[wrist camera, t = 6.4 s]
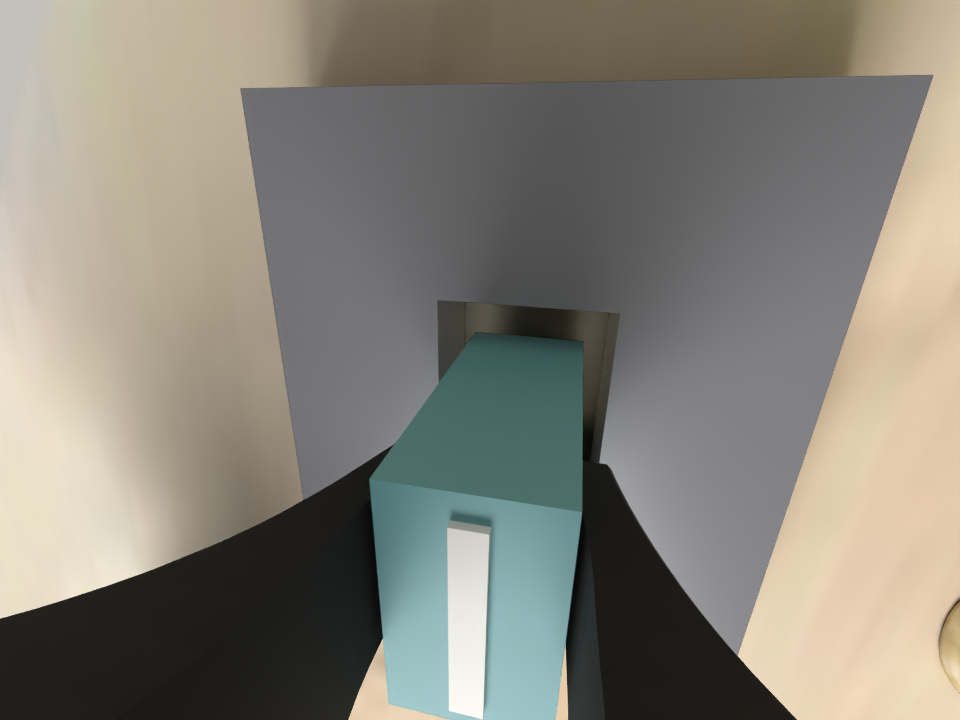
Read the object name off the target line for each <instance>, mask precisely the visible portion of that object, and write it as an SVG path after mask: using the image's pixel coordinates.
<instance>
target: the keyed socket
mask: <svg viewBox="0 0 960 720" xmlns="http://www.w3.org/2000/svg"><path fill="white" fill-rule="evenodd" d="M932 78H933V75H902V76H851V77H800V78H749V79H698V80H647V81H596V82H545V83H494V84H443V85H392V86H341V87H290V88H240V89H241V95H242V102H243V108H244V115H245V121H246V128H247V134H248V141H249V147H250V154H251V160H252V167H253V173H254V180H255V186H256V193H257V199H258V206H259V212H260V219H261V225H262V232H263V238H264V245H265V251H266V258H267V264H268V271H269V277H270V284H271V290H272V297H273V303H274V310H275V316H276V323H277V329H278V336H279V342H280V349H281V355H282V362H283V368H284V375H285V381H286V388H287V394H288V401H289V407H290V414H291V420H292V427H293V433H294V440H295V446H296V453H297V459H298V466H299V472H300V479H301V485H302V492H303V498H304V500H305V499H306V498H308V497H310V496H312V495H313V494H315V493H317V492H319V491H320V490H322V489H324V488H326V487H327V486H329V485H331V484H332V483H334V482H336V481H337V480H339V479H340V478H342V477H344V476H345V475H347V474H348V473H350V472H351V471H353V470H355V469H356V468H358V467H359V466H361V465H362V464H364V463H366V462H367V461H369V460H370V459H372V458H373V457H375V456H376V455H378V454H379V453H381V452H382V451H384V450H386V449H387V448H389V447H390V446H392V445H393V444H395V443H396V441H397V440H398V439H399V437H400V436H401V435H402V433H403V432H404V430H405V429H406V428H407V426H408V425H409V424H410V422H411V421H412V419H413V418H414V417H415V415H416V414H417V412H418V411H419V410H420V408H421V407H422V406H423V404H424V403H425V401H426V400H427V399H428V397H429V396H430V394H431V393H432V392H433V390H434V389H435V388H436V386H437V385H438V383H439V382H440V381H441V379H442V378H443V377H444V375H445V374H446V372H447V371H448V370H449V368H450V367H451V365H452V364H453V363H454V361H455V360H456V359H457V357H458V356H459V354H460V353H461V352H462V350H463V349H464V348H465V302H472V303H486V304H499V305H513V306H526V307H540V308H554V309H567V310H581V311H595V312H608V313H609V319H608V326H607V334H606V342H605V349H604V357H603V365H602V372H601V380H600V388H599V395H598V403H597V411H596V418H595V426H594V434H593V442H592V449H591V457H590V462H594V463H601V464H607V465H608V466H609V467H610V469H611V470H612V472H613V474H614V476H615V479H616V481H617V483H618V485H619V487H620V489H621V491H622V493H623V495H624V497H625V498H626V500H627V502H628V504H629V506H630V508H631V509H632V511H633V513H634V515H635V516H636V518H637V520H638V521H639V523H640V525H641V526H642V528H643V530H644V531H645V533H646V534H647V536H648V538H649V539H650V541H651V542H652V544H653V546H654V547H655V549H656V550H657V552H658V553H659V555H660V556H661V558H662V559H663V561H664V562H665V564H666V565H667V567H668V568H669V569H670V571H671V572H672V574H673V575H674V576H675V578H676V579H677V581H678V582H679V584H680V585H681V586H682V588H683V589H684V590H685V592H686V593H687V594H688V596H689V597H690V598H691V600H692V601H693V602H694V604H695V605H696V606H697V608H698V609H699V610H700V611H701V613H702V614H703V615H704V617H705V618H706V619H707V620H708V621H709V623H710V624H711V625H712V626H713V628H714V629H715V630H716V631H717V632H718V634H719V635H720V636H721V637H722V639H723V640H724V641H725V642H726V643H727V645H728V646H729V647H730V648H731V649H732V650H733V651H734V653H735V654H736V655H737V656H738V653H739V650H740V647H741V644H742V641H743V638H744V635H745V632H746V629H747V626H748V623H749V620H750V617H751V614H752V611H753V608H754V605H755V602H756V599H757V596H758V593H759V591H760V588H761V585H762V582H763V579H764V576H765V573H766V570H767V567H768V564H769V561H770V558H771V555H772V552H773V549H774V546H775V543H776V540H777V537H778V534H779V531H780V528H781V525H782V522H783V519H784V516H785V514H786V511H787V508H788V505H789V502H790V499H791V496H792V493H793V490H794V487H795V484H796V481H797V478H798V475H799V472H800V469H801V466H802V463H803V460H804V457H805V454H806V451H807V448H808V445H809V442H810V439H811V437H812V434H813V431H814V428H815V425H816V422H817V419H818V416H819V413H820V410H821V407H822V404H823V401H824V398H825V395H826V392H827V389H828V386H829V383H830V380H831V377H832V374H833V371H834V368H835V365H836V362H837V359H838V357H839V354H840V351H841V348H842V345H843V342H844V339H845V336H846V333H847V330H848V327H849V324H850V321H851V318H852V315H853V312H854V309H855V306H856V303H857V300H858V297H859V294H860V291H861V288H862V285H863V282H864V280H865V277H866V274H867V271H868V268H869V265H870V262H871V259H872V256H873V253H874V250H875V247H876V244H877V241H878V238H879V235H880V232H881V229H882V226H883V223H884V220H885V217H886V214H887V211H888V208H889V205H890V202H891V200H892V197H893V194H894V191H895V188H896V185H897V182H898V179H899V176H900V173H901V170H902V167H903V164H904V161H905V158H906V155H907V152H908V149H909V146H910V143H911V140H912V137H913V134H914V131H915V128H916V125H917V123H918V120H919V117H920V114H921V111H922V108H923V105H924V102H925V99H926V96H927V93H928V90H929V87H930V84H931V81H932Z"/></svg>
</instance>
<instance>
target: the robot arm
mask: <svg viewBox="0 0 960 720" xmlns="http://www.w3.org/2000/svg"><path fill="white" fill-rule="evenodd" d="M393 446H394V444H393V445H392V446H390V447H389V448H387V449H386V450H384V451H382V452H381V453H379V454H378V455H376V456H375V457H373V458H372V459H370V460H369V461H367V462H366V463H364V464H362V465H361V466H359V467H358V468H356V469H355V470H353V471H351V472H350V473H348V474H347V475H345V476H344V477H342V478H340V479H339V480H337V481H336V482H334V483H332V484H331V485H329V486H327V487H326V488H324V489H322V490H320V491H319V492H317V493H315V494H313V495H312V496H310V497H308V498H306V499H305V500H303V501H301V502H299V503H298V504H296V505H294V506H292V507H291V508H289V509H287V510H285V511H283V512H282V513H280V514H278V515H276V516H274V517H272V518H270V519H268V520H266V521H264V522H262V523H260V524H258V525H256V526H254V527H252V528H250V529H248V530H245V531H243V532H241V533H239V534H237V535H235V536H233V537H231V538H229V539H226V540H224V541H222V542H220V543H217V544H215V545H213V546H210V547H208V548H205V549H203V550H200V551H198V552H195V553H193V554H190V555H188V556H185V557H183V558H181V559H178V560H176V561H173V562H171V563H168V564H166V565H163V566H161V567H158V568H156V569H153V570H151V571H148V572H145V573H143V574H140V575H137V576H134V577H131V578H129V579H126V580H123V581H120V582H117V583H114V584H112V585H109V586H106V587H103V588H100V589H97V590H94V591H91V592H88V593H84V594H81V595H78V596H75V597H72V598H69V599H66V600H63V601H60V602H57V603H53V604H50V605H47V606H44V607H40V608H37V609H33V610H30V611H26V612H23V613H19V614H16V615H12V616H8V617H5V618H1V619H0V720H348V719H349V716H350V713H351V711H352V708H353V705H354V703H355V700H356V697H357V695H358V692H359V689H360V687H361V685H362V682H363V680H364V678H365V675H366V673H367V671H368V669H369V666H370V664H371V662H372V660H373V658H374V655H375V653H376V651H377V649H378V647H379V645H380V643H381V641H382V639H383V632H382V621H381V609H380V597H379V586H378V574H377V563H376V551H375V539H374V528H373V516H372V504H371V493H370V481H369V479H370V477H371V476H372V475H373V473H374V472H375V470H376V469H377V468H378V466H379V465H380V464H381V462H382V461H383V459H384V458H385V457H386V455H387V454H388V453H389V451H390V450H391V448H392V447H393ZM566 664H567V690H568V720H797V719H796V718H795V717H794V716H793V715H792V714H791V713H790V712H789V711H788V710H787V709H786V708H785V707H784V706H783V705H782V704H781V703H780V702H779V700H778V699H777V698H776V697H775V696H774V695H773V694H772V693H771V692H770V691H769V690H768V689H767V688H766V687H765V686H764V685H763V684H762V683H761V682H760V680H759V679H758V678H757V677H756V676H755V675H754V674H753V673H752V672H751V671H750V670H749V669H748V668H747V666H746V665H745V664H744V663H743V662H742V661H741V659H740V658H739V657H738V656H737V655H736V654H735V653H734V651H733V650H732V649H731V648H730V647H729V646H728V645H727V643H726V642H725V641H724V640H723V639H722V637H721V636H720V635H719V634H718V632H717V631H716V630H715V629H714V628H713V626H712V625H711V624H710V623H709V621H708V620H707V619H706V618H705V617H704V615H703V614H702V613H701V611H700V610H699V609H698V608H697V606H696V605H695V604H694V602H693V601H692V600H691V598H690V597H689V596H688V594H687V593H686V592H685V590H684V589H683V588H682V586H681V585H680V584H679V582H678V581H677V579H676V578H675V576H674V575H673V574H672V572H671V571H670V569H669V568H668V567H667V565H666V564H665V562H664V561H663V559H662V558H661V556H660V555H659V553H658V552H657V550H656V549H655V547H654V546H653V544H652V542H651V541H650V539H649V538H648V536H647V534H646V533H645V531H644V530H643V528H642V526H641V525H640V523H639V521H638V520H637V518H636V516H635V515H634V513H633V511H632V509H631V508H630V506H629V504H628V502H627V500H626V498H625V497H624V495H623V493H622V491H621V489H620V487H619V485H618V483H617V481H616V479H615V476H614V474H613V472H612V470H611V469H610V467H609V466H608V465H607V464H601V463H594V462H587V461H583V468H582V518H581V526H580V534H579V542H578V549H577V557H576V565H575V573H574V581H573V588H572V596H571V604H570V612H569V619H568V627H567V635H566Z"/></svg>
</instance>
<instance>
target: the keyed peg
mask: <svg viewBox="0 0 960 720" xmlns="http://www.w3.org/2000/svg"><path fill="white" fill-rule="evenodd" d="M582 468H583V341H574V340H562V339H551V338H539V337H527V336H516V335H504V334H492V333H481V332H475V334H474V335H473V336H472V338H471V339H470V341H469V342H468V343H467V345H466V346H465V348H464V349H463V350H462V352H461V353H460V354H459V356H458V357H457V359H456V360H455V361H454V363H453V364H452V365H451V367H450V368H449V370H448V371H447V372H446V374H445V375H444V377H443V378H442V379H441V381H440V382H439V383H438V385H437V386H436V388H435V389H434V390H433V392H432V393H431V394H430V396H429V397H428V399H427V400H426V401H425V403H424V404H423V406H422V407H421V408H420V410H419V411H418V412H417V414H416V415H415V417H414V418H413V419H412V421H411V422H410V424H409V425H408V426H407V428H406V429H405V430H404V432H403V433H402V435H401V436H400V437H399V439H398V440H397V441H396V443H395V444H394V446H393V447H392V448H391V450H390V451H389V453H388V454H387V455H386V457H385V458H384V459H383V461H382V462H381V464H380V465H379V466H378V468H377V469H376V470H375V472H374V473H373V475H372V476H371V477H370V479H369V481H370V493H371V504H372V516H373V528H374V539H375V551H376V563H377V574H378V586H379V597H380V609H381V621H382V632H383V644H384V656H385V667H386V679H387V691H388V702H389V704H391V705H395V706H399V707H403V708H407V709H411V710H414V711H418V712H422V713H426V714H430V715H434V716H438V717H442V718H446V719H450V720H556V713H557V705H558V697H559V689H560V682H561V674H562V666H563V658H564V650H565V643H566V635H567V627H568V619H569V612H570V604H571V596H572V588H573V581H574V573H575V565H576V557H577V549H578V542H579V534H580V526H581V518H582Z"/></svg>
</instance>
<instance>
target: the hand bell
mask: <svg viewBox="0 0 960 720" xmlns="http://www.w3.org/2000/svg"><path fill="white" fill-rule="evenodd" d="M939 652H940V660H941V663H942V666H943V669H944V672H945V674H946V676H947V677H948V679H949V681H950V682H951V683H952V685H953V686H954V687H955V688H956V689H957V690H958V692H959V693H960V602H959V603H958V604H957V605H956V606H955V607H954V608H953V610H952V611H951V612H950V614H949V615H948V617H947V619H946V621H945V624H944V627H943V629H942V634H941V637H940V646H939Z"/></svg>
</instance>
